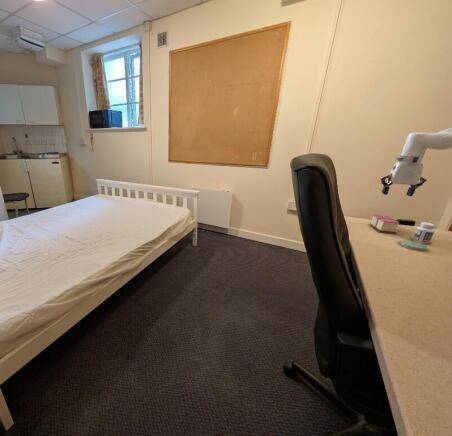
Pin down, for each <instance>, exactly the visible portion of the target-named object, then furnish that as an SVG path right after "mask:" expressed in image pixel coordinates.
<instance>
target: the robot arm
mask: <svg viewBox="0 0 452 436" xmlns="http://www.w3.org/2000/svg"><path fill="white" fill-rule="evenodd" d="M427 149H430V150H431V149H432V150H437V151H445V150H449V149H452V127H449V128H446V129H444V130H441V131H438V132H428V131H425V132H424V131H418V132H417V131H415V132H410V133H409V134H408V135H407V136H406V139H405V142H404V145H403V147H402V149H401V152H400V155H399V156H398V157H397V156H396V158H395V161H397V162H395V163H394V165H393V166H392V168H391V170H390V173H389V174H386V175H383V176H380V177H379V178H380V179H379V180H380V183H381V184H382V186H383V187H382V190H381V193H382V195H385V196H387V195H388V194H389V191H390V189H391V187H390V186H392V185H393V184H395V185H408V186H409V187H408V189H407V191H406V194H405V195H406V196H408V197H413V195H414V194H415V192H416V189H418V188H420V187H421V186H423V184H425V183H426V182H427V180H428V179H426V178H424V177H423V176H422V173H423V169H424V163H422V162H423V159H424V157H425V154H426V152H427ZM386 179H387V181H386Z"/></svg>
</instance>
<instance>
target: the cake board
mask: <svg viewBox="0 0 452 436" xmlns="http://www.w3.org/2000/svg"><path fill="white" fill-rule="evenodd" d="M369 226H370V227H371V228H373V229H374V230H376V231H377V232H379V233H380V234H381V233H382V234H391V235H396V234H397V231H396V232H391V231H382V230H379V229H378V228H377V227H375V226H374V225H372V224H371V222H370V223H369Z"/></svg>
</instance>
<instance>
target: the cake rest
mask: <svg viewBox="0 0 452 436" xmlns="http://www.w3.org/2000/svg"><path fill="white" fill-rule="evenodd" d="M392 219H393V218H392ZM392 219H381V218H379V221H378V223H377V226H376V227H377V228H378V229H379V230H382V231H391V232H396V233H397V230H398V227H399V226H400V225H399V222H397V221H395V220H396V219H394V220H392Z"/></svg>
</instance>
